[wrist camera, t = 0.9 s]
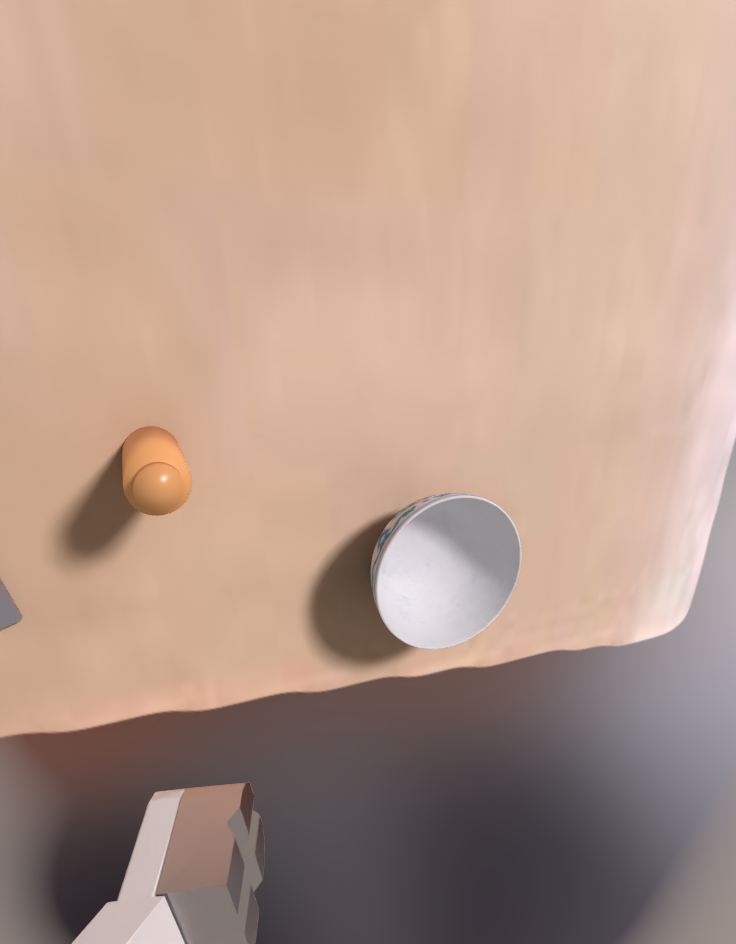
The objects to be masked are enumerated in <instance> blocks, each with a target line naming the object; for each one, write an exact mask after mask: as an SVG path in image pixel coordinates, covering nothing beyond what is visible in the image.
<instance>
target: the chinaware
mask: <svg viewBox="0 0 736 944" xmlns="http://www.w3.org/2000/svg"><path fill="white" fill-rule="evenodd" d="M520 567H521V544H520V539H519V535H518V532H517V529H516V527H515V525H514V523H513V522H512V520H511V518H510V517H509V516H508V515H507V513H506V512H505V511H504V510H503V509H501V508H500V507H499V506H498V505H496V504H494V503H493V502H491V501H489V500H487V499H484V498H481V497H477V496H473V495H467V494H458V493H448V494H438V495H433V496H429V497H426V498H423V499H420V500H418V501H416V502H414V503H412V504H410V505H409V506H407V507H405V508H404V509H403V510H401V511H400V512H399V513H398V514H397V515H396V516H395V517H394V518H393V519H392V520H391V521H390V522H389V523H388V524H387V526H386V527H385V529H384V530H383V532H382V533H381V535H380V537H379V539H378V541H377V544H376V546H375V549H374V553H373V557H372V563H371V587H372V593H373V597H374V601H375V604H376V607H377V610H378V612H379V614H380V617H381V619H382V620H383V622H384V624H385V625H386V627H387V628H388V629H389V631H390V632H391V633H392V634H393V635H394V636H395V637H397V638H398V639H399V640H401V641H402V642H404V643H406V644H408V645H411V646H413V647H417V648H421V649H443V648H448V647H452V646H455V645H458V644H461V643H463V642H465V641H467V640H469V639H471V638H473V637H474V636H476V635H477V634H479V633H480V632H481V631H483V630H484V629H485V628H486V627H488V626H489V625H490V624H491V623H492V622H493V621H494V620H495V619H496V617H497V616H498V615H499V614H500V613H501V611H502V610H503V609H504V607H505V606H506V604H507V602H508V601H509V599H510V597H511V595H512V593H513V591H514V589H515V586H516V583H517V580H518V577H519V573H520Z"/></svg>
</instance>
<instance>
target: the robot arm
mask: <svg viewBox="0 0 736 944" xmlns="http://www.w3.org/2000/svg"><path fill="white" fill-rule="evenodd" d="M253 801H254V794H253V791H252V788H251V785H250V783H240V784H230V785H219V786H209V787H198V788H187V789H179V790H170V791H161V792H155V794H154V795H153V797H152V798H151V800H150V801H149V803H148V806H147V809H146V812H145V815H144V819H143V821H142V825H141V828H140V831H139V834H138V837H137V840H136V843H135V847H134V850H133V853H132V856H131V859H130V862H129V865H128V868H127V871H126V875H125V878H124V881H123V884H122V887H121V890H120V893H119V897H118V900H117V901H114V902H108V903H106V905H105V906H104V907H103V908H102V909H101V911H100V912H99V913H98V914H97V915H96V916H95V917H94V919H93V920H92V921H91V922H90V923H89V924H88V925H87V927H86V928H85V929H84V930H83V931H82V932H81V933H80V935H79V936H78V937H77V938H76V939H75V940H74V942H73V943H72V944H255V942H256V933H257V925H258V916H259V908H258V905H257V902H256V899H255V896H254V891H255V889H256V888H257V887H258V885H259V884H260V882H261V881H262V879H263V870H264V860H265V853H264V852H265V851H264V832H263V825H262V821H261V818H260V814H258V813H257V812H255V811H254V810H252V809H253Z"/></svg>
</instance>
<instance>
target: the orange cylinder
mask: <svg viewBox="0 0 736 944" xmlns="http://www.w3.org/2000/svg"><path fill="white" fill-rule="evenodd" d="M122 470H123V490H124V494H125V497H126V499H127V500H128V502H129V503H130V504H131V505H132V506H133V507H134V508H135V509H136V510H138V511H140V512H142V513H145V514H148V515H165V514H168V513H171V512H173V511H175V510H177V509H178V508H180V507H181V506H182V505H183V504H184V503H185V502H186V500H187V499H188V497H189V495H190V492H191V488H192V479H191V475H190V472H189V470H188V467H187V465H186V462H185V460H184V457H183V455H182V452H181V450H180V448H179V445H178V443H177V441H176V439H175V438H174V437H173V435H172V434H170V433H169V432H168V431H166V430H164V429H162V428H158V427H143V428H140V429H138V430H136V431H134V432H133V433H131V434H130V435H129V436H128V438H127V439H126V441H125V442H124V445H123V449H122Z"/></svg>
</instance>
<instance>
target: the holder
mask: <svg viewBox="0 0 736 944" xmlns="http://www.w3.org/2000/svg"><path fill="white" fill-rule="evenodd" d="M21 619H22V615H21V613H20V611H19V610H18V608H17V606H16V604H15V603H14V601H13V599H12V598H11V596H10V594H9V592H8V591H7V589H6V587H5V586H4V584H3V582H2V581H1V579H0V629H2V628H5V627H7V626H10V625H12V624H15V623H17V622H20V621H21Z"/></svg>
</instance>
